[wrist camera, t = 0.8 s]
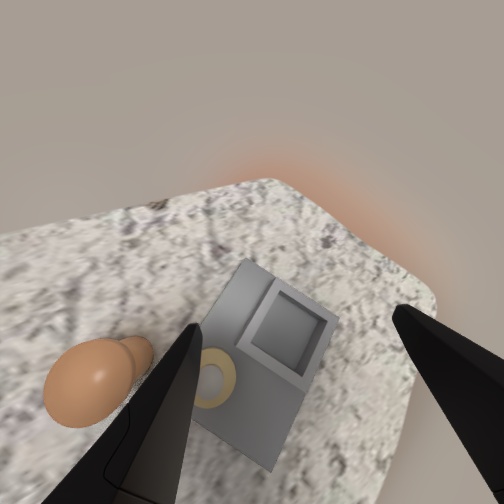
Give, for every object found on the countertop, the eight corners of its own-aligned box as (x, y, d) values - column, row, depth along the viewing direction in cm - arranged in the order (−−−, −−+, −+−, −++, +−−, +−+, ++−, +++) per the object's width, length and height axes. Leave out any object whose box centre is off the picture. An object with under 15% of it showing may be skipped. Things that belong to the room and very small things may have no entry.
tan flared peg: (135, 398, 19) (90, 445, 13) (91, 368, 19) (23, 399, 13) (170, 347, 21) (146, 366, 14) (129, 320, 21) (86, 325, 14)
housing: (268, 464, 19) (280, 502, 16) (158, 389, 20) (143, 409, 16) (334, 317, 24) (355, 319, 21) (244, 259, 25) (249, 250, 21)
